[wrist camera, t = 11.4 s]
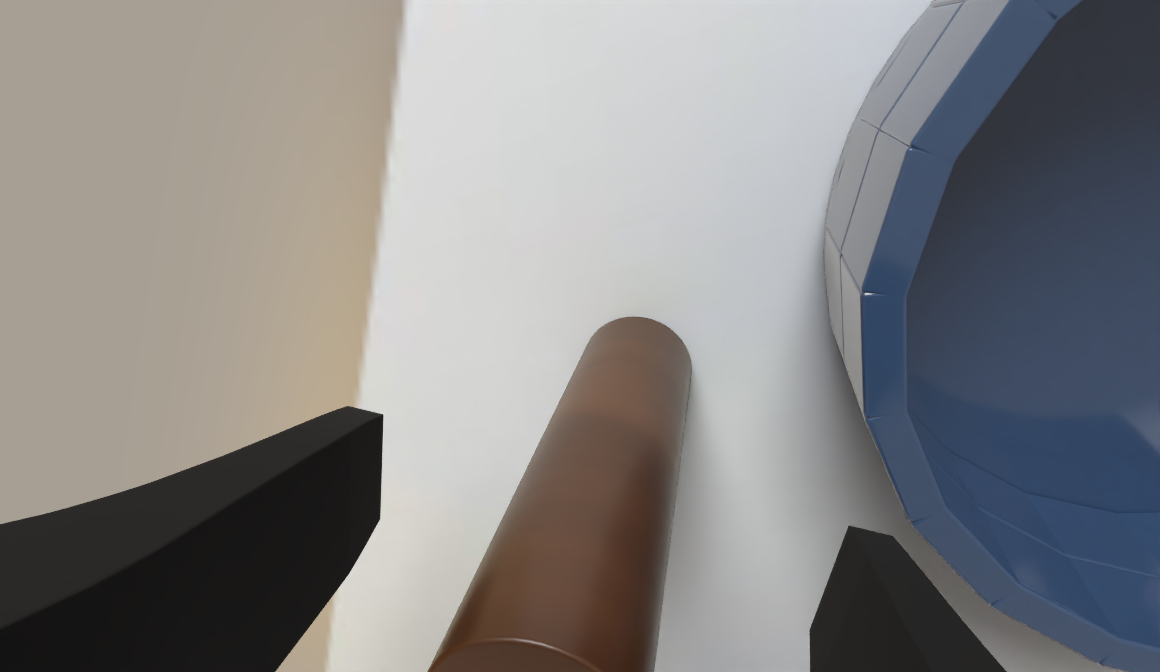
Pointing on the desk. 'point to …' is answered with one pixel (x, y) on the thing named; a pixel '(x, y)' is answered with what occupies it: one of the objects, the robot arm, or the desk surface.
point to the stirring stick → (586, 521)
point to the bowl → (1015, 305)
